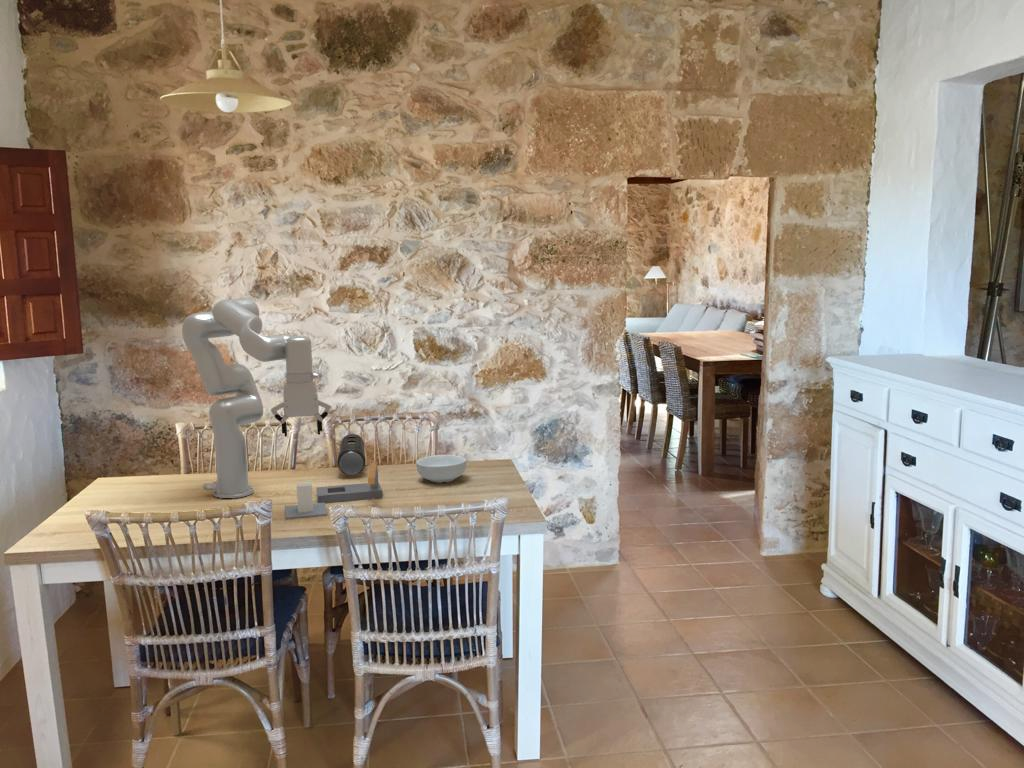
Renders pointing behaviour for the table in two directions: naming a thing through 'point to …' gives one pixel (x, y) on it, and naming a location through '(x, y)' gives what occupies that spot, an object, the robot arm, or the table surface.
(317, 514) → the mat
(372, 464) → the orange wooden bar
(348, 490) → the socket block
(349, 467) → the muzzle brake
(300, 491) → the plug
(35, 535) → the table surface
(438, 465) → the cereal bowl
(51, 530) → the table surface
